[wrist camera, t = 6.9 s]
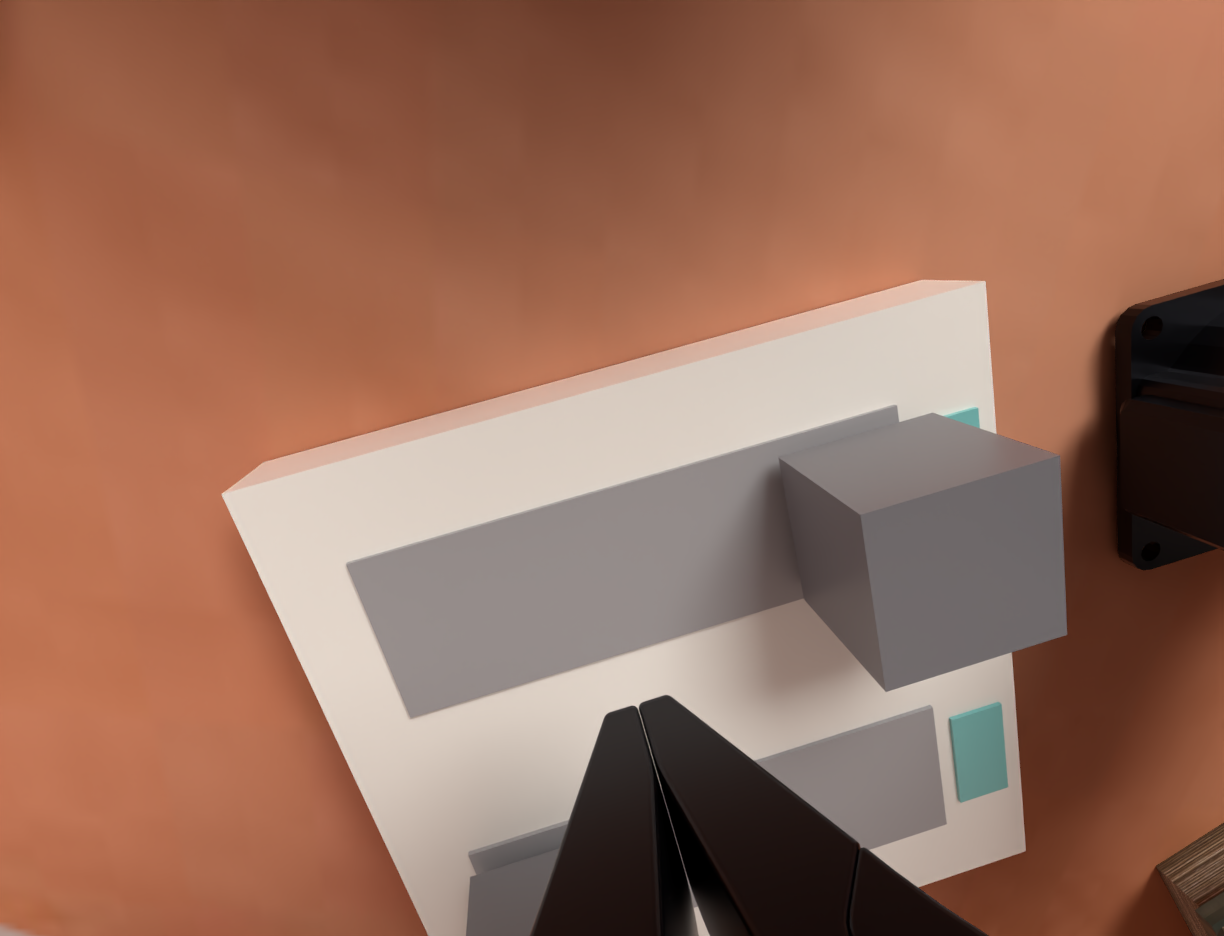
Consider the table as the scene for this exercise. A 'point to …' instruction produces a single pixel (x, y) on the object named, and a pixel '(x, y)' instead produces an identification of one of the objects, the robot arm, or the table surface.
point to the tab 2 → (929, 545)
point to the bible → (1198, 883)
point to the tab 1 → (508, 897)
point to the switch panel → (630, 596)
